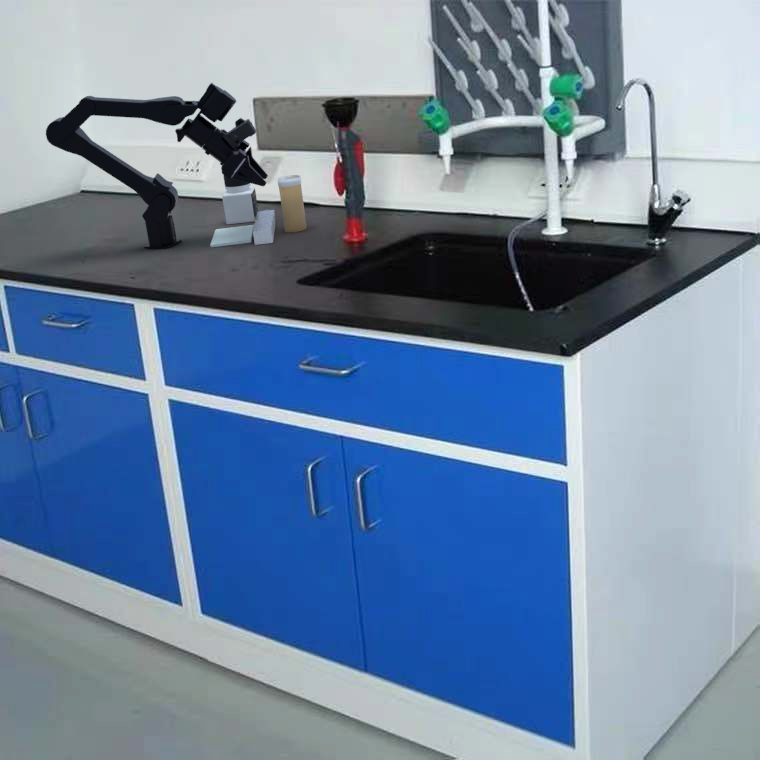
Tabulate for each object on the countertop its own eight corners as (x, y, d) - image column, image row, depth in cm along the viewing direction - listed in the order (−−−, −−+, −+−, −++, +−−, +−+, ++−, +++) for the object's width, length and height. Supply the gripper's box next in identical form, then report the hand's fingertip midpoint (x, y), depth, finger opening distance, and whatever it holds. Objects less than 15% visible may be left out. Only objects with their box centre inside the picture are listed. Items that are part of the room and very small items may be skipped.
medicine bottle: (255, 221, 302) (248, 172, 298) (226, 224, 303) (218, 175, 299) (259, 215, 309) (252, 166, 305) (230, 218, 309) (222, 169, 306)
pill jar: (300, 232, 286) (293, 179, 282) (280, 232, 288) (273, 180, 284) (311, 226, 290) (304, 174, 286) (291, 227, 292) (284, 175, 288)
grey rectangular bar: (272, 242, 279) (271, 229, 278) (254, 245, 278) (252, 231, 277) (276, 219, 302) (274, 207, 301) (259, 221, 302) (257, 209, 301)
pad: (210, 247, 281) (210, 244, 281) (216, 231, 296) (215, 229, 296) (250, 242, 281) (250, 239, 281) (254, 227, 296) (253, 224, 296)
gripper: (228, 114, 271) (286, 159, 274) (233, 103, 288) (288, 146, 292) (197, 155, 273) (256, 199, 277) (204, 142, 291) (259, 184, 295)
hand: (266, 181), depth 285 cm, fingers open, 9 cm apart
